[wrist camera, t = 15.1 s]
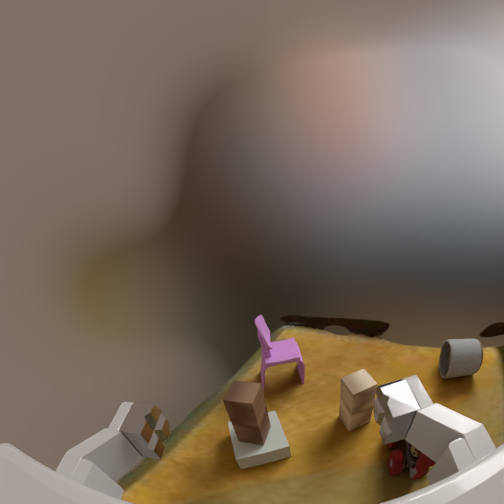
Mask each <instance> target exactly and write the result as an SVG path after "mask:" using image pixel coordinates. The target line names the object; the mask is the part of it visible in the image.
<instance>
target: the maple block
mask: <svg viewBox="0 0 504 504" xmlns="http://www.w3.org/2000/svg"><path fill="white" fill-rule="evenodd" d="M376 388H377V383H376V382H375V381H374V380H373V378H372V377H371V376H370V375H369V374H368V373H367V372H366V370H365V369H362V370H360V371H357V372H355V373H352V374H350V375H348V376H345V377H343V378H341V393H340V411H339V417H340V418H341V420H342V421H343V423H344V425H345V426H346V428H347V429H348V431H351V430H353V429H355V428H358V427H360V426H362V425H364V424H366V423H368V422H370V419H371V414H372V409H373V404H374V399H375V393H376Z"/></svg>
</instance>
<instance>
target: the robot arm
mask: <svg viewBox="0 0 504 504" xmlns="http://www.w3.org/2000/svg"><path fill="white" fill-rule="evenodd" d="M376 395H377V398H376V399H375V400H374V416H375V420H376V423H378V424H379V425H381V428H380V431H379V432H380V435H381V438H382V441H383V444H384V445H385V444H389V443H392V442H396V441H399V440H402V439H405V440H406V441H407V442H409V443H410V444H411V445H413V446H414V447H415V448H417V449H418V450H419V451H421V452H422V453H423V454H425V455H426V456H428V457H429V458H430V459H432V460H433V461H434V462H436V463H435V465H434V466H433V467H432V469H431V470H430V471H429V473H428V474H427V478H428V481H429V484H430V486H427V487H425V488H422V489H420V490H418V491H415V492H412V493H410V494H407V495H404V496H402V497H399V498H396V499H393V500H390V501H387V502H383V503H380V504H504V444H502V445H501V446H499V447H498V448H496V447H495V445H494V444H493V442H492V440H491V438H490V436H489V435H488V433H487V431H486V429H485V428H484V426H483V424H481V423H478V422H476V421H474V420H472V419H470V418H467V417H465V416H463V415H461V414H459V413H457V412H454V411H452V410H450V409H448V408H446V407H444V406H442V405H440V404H438V403H435V404H433V402H432V401H431V399H430V397H429V395H428V394H427V392H426V390H425V388H424V387H423V385H422V383H421V382H420V380H419V378H418V377H417V376H416V375H414V376H410V377H407V378H404V379H400V380H397V381H393V382H390V383H387V384H383V385H380V386H378V387H377V389H376ZM161 412H162V411H161V409H160V408H159V406H155V405H147V404H139V403H131V402H124V403H123V404H121V406H120V408H119V409H118V411H117V413H116V415H115V417H114V419H113V420H112V422H111V424H110V426H109V428H108V429H107V428H105V429H103V430H102V431H100V432H98V433H97V434H95V435H94V436H92V437H90V438H89V439H87V440H85V441H83V442H82V443H80V444H78V445H77V446H75V447H73V448H72V449H70V450H68V451H67V452H66V454H65V456H64V457H63V459H62V461H61V463H60V464H59V466H58V468H57V470H56V471H53V470H51V469H50V468H48V467H46V466H44V465H42V464H41V463H39V462H37V461H36V460H34V459H32V458H31V457H29V456H27V455H26V454H24V453H23V452H21V451H20V450H18V449H17V448H15V447H14V446H12V445H11V444H9V443H3V444H0V504H134V503H131V502H127V501H124V500H121V496H122V494H123V489H122V488H121V487H120V486H119V485H118V484H117V483H115V481H116V480H118V479H119V478H120V477H121V476H122V475H123V474H125V473H126V472H127V471H128V470H129V469H130V468H131V467H132V466H134V465H135V464H136V463H137V462H138V461H139V460H140V459H141V458H142V456H143V457H150V458H156V459H161V456H162V454H163V451H164V448H165V446H164V444H163V442H164V441H165V440H166V439H168V436H169V430H170V428H169V423H168V421H167V419H166V418H165V417H164V416H162V415H161Z"/></svg>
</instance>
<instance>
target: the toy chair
mask: <svg viewBox="0 0 504 504" xmlns="http://www.w3.org/2000/svg"><path fill="white" fill-rule="evenodd" d="M255 324H256V327H257V329H258V338H259V340H260V343H261V346H262V365H261V371H260V372H261V382H262V389H263V391H264V380H265V370H266V369H267V368H268V367H271V366H275V365H279V364H284V363H291V362H298V363H297V367H298V371H299V375H300V378H301V382H302V384H304V373H305V369H304V363H303V360H302V356H301V353H300V350H299V347H298V344H297V343H296V342H295V339H294V338H291V339H287V340H283V341H278V342H270V331H269V329H268V327H267V325H266V323H265V321H264V318H263V316H261V315H260V316H258V317H257V318H256V319H255Z"/></svg>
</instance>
